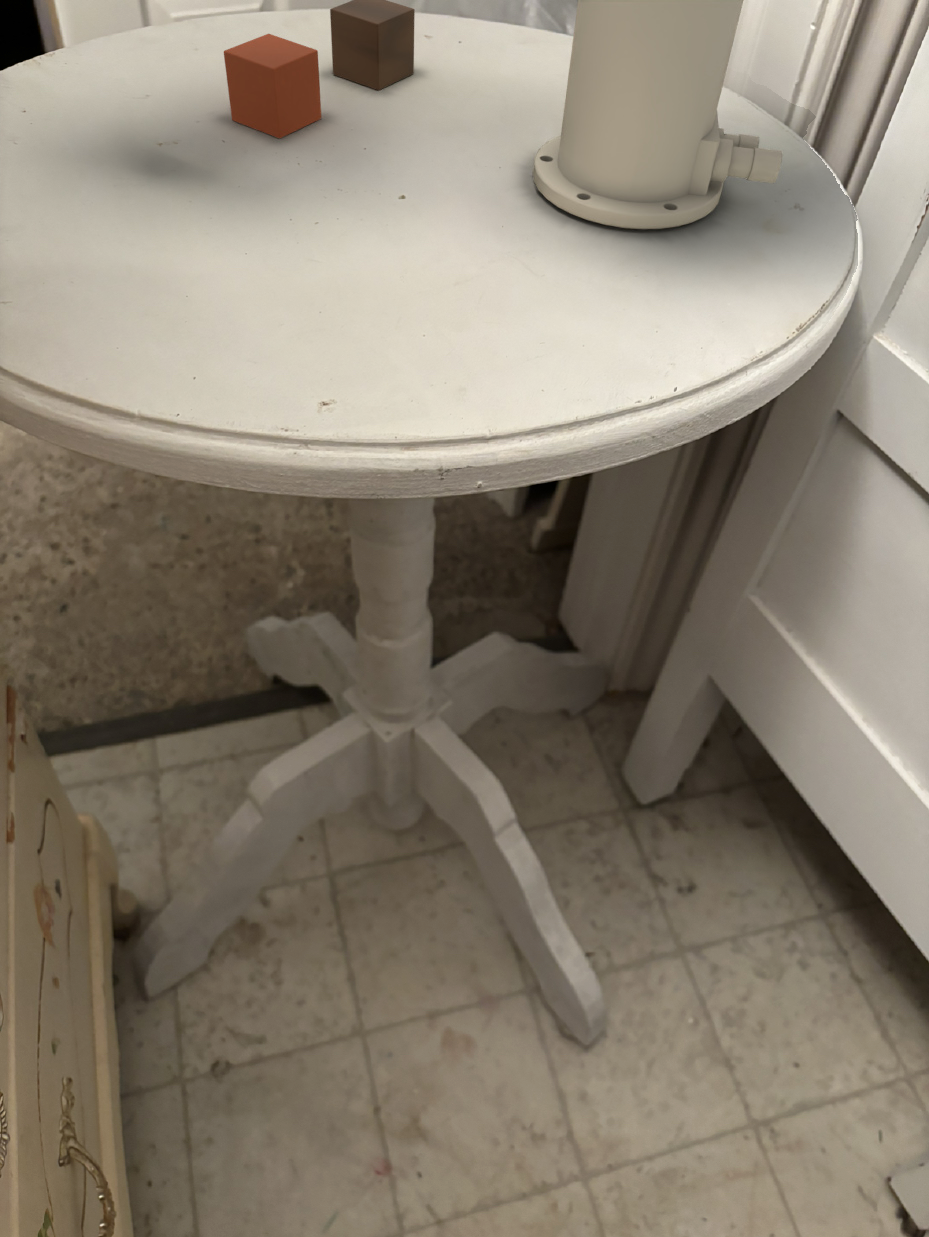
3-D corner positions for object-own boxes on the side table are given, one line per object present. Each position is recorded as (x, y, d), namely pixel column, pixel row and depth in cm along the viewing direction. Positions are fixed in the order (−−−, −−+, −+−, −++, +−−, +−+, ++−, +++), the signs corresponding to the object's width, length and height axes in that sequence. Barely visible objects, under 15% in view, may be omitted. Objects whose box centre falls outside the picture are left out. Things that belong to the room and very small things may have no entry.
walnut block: (368, 58, 76) (367, -6, 73) (414, 74, 75) (415, 8, 71) (332, 74, 74) (329, 9, 70) (378, 91, 72) (377, 24, 69)
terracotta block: (274, 101, 70) (268, 33, 67) (322, 119, 69) (318, 50, 65) (231, 120, 68) (222, 50, 64) (279, 139, 66) (273, 68, 63)
